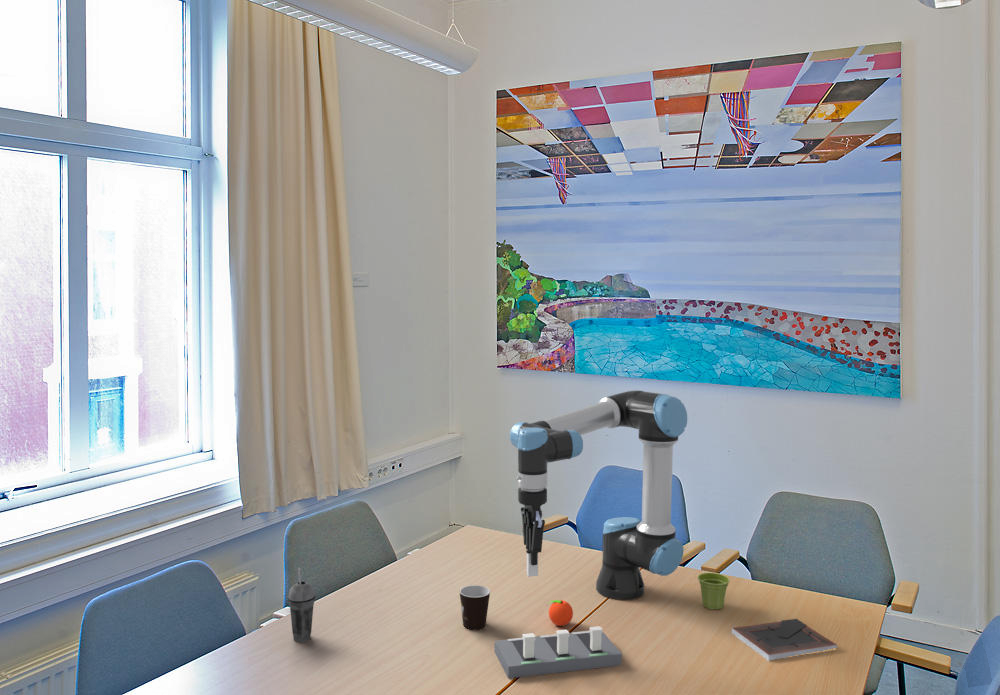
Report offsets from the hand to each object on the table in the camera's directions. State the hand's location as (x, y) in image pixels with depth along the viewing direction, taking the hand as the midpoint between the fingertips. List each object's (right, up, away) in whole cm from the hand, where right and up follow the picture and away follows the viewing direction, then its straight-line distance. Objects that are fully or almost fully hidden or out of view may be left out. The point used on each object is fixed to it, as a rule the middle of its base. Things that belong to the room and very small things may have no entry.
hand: (532, 575), depth 205 cm
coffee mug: (-16, -19, +17) cm, 30 cm away
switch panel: (+6, -21, -3) cm, 22 cm away
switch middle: (+7, -18, -7) cm, 20 cm away
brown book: (+69, -22, +9) cm, 73 cm away
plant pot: (+56, -19, +32) cm, 67 cm away
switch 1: (-1, -18, -10) cm, 20 cm away
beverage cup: (-62, -19, +6) cm, 65 cm away
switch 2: (+16, -18, -5) cm, 24 cm away
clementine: (+8, -19, +17) cm, 27 cm away
